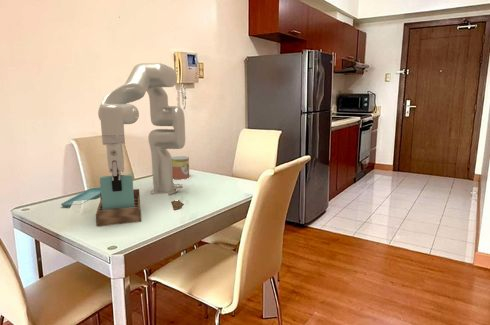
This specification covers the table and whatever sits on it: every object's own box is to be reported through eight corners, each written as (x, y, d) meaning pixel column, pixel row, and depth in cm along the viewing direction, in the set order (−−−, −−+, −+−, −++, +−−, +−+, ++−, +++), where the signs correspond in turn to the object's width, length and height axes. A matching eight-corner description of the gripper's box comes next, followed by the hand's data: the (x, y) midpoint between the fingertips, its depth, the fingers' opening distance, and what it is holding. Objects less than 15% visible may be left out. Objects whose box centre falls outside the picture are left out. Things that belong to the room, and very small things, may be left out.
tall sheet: (135, 215, 131) (132, 174, 128) (135, 217, 129) (132, 175, 126) (104, 218, 128) (100, 176, 125) (103, 220, 126) (99, 178, 123)
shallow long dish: (81, 209, 149) (80, 203, 148) (60, 208, 149) (60, 203, 149) (108, 192, 174) (108, 188, 174) (91, 192, 175) (90, 187, 175)
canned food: (180, 180, 197) (179, 160, 195) (166, 178, 203) (165, 158, 201) (193, 177, 206) (192, 157, 204) (179, 174, 212) (178, 155, 210)
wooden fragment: (166, 219, 134) (166, 217, 134) (141, 218, 137) (140, 215, 136) (191, 201, 159) (191, 199, 159) (169, 200, 161) (169, 197, 161)
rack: (140, 209, 146) (139, 188, 145) (141, 225, 128) (140, 201, 126) (101, 213, 142) (100, 192, 140) (97, 230, 123) (95, 206, 122)
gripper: (124, 142, 117) (127, 194, 120) (125, 137, 132) (128, 184, 135) (100, 143, 114) (104, 196, 118) (104, 138, 129) (108, 185, 133)
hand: (117, 189), depth 126 cm, fingers closed on tall sheet, 2 cm apart
